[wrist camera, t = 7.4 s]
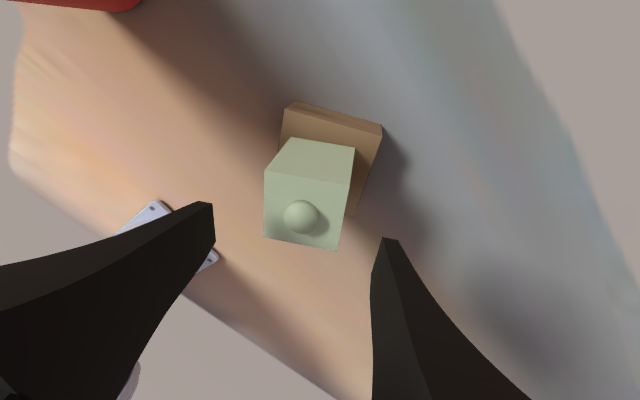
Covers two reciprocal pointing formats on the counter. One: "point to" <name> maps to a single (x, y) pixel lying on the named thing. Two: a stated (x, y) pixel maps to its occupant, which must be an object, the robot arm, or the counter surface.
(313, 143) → the sage brick
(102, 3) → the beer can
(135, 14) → the counter surface
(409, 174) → the counter surface
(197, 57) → the counter surface
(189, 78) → the counter surface
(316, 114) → the walnut block
